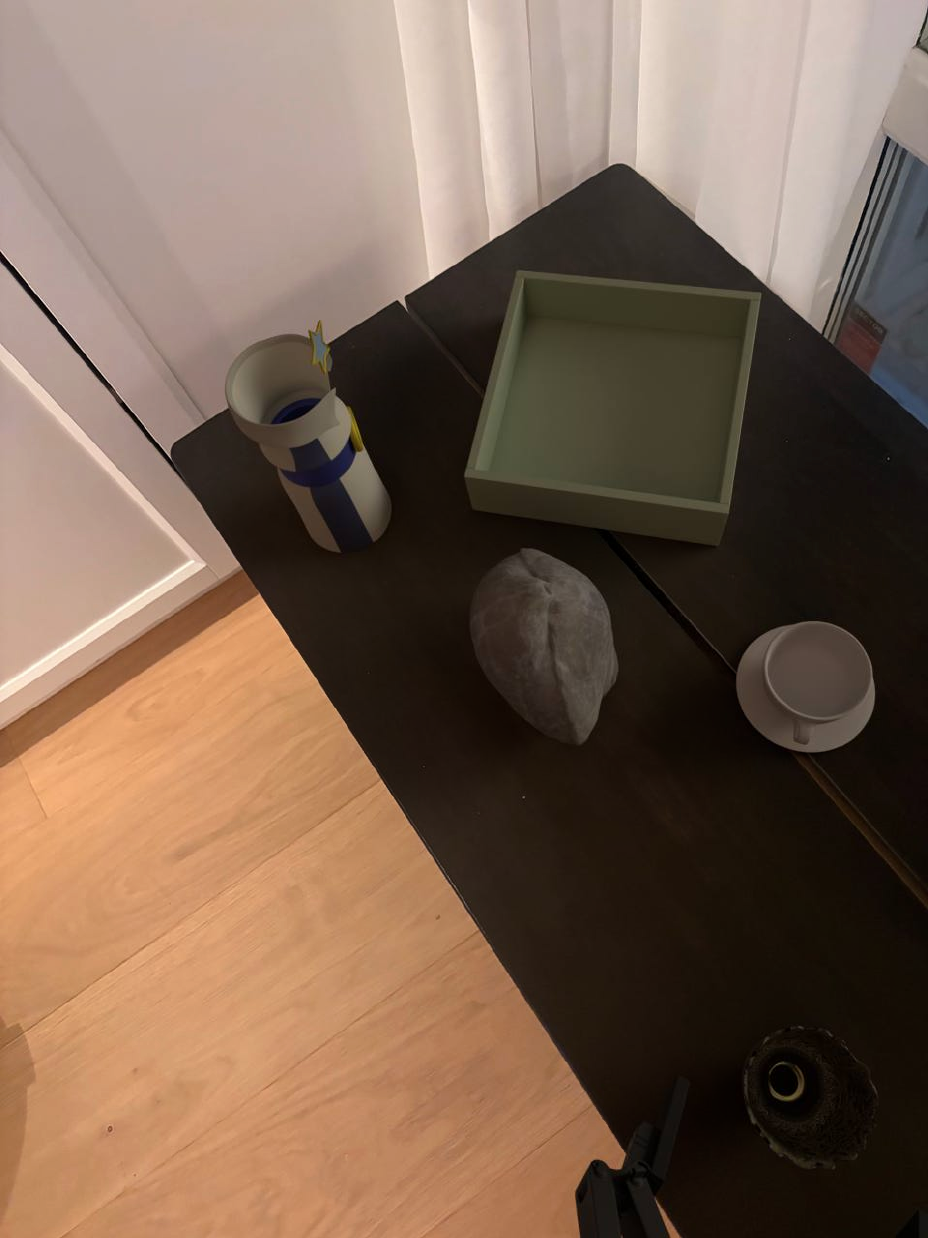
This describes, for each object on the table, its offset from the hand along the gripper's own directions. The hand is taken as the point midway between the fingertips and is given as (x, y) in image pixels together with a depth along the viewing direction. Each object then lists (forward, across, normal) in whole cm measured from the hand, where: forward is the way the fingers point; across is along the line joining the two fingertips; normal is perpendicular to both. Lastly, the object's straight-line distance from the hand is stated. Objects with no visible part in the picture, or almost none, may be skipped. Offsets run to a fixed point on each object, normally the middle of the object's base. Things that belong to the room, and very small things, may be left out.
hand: (790, 1156), depth 51 cm
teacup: (+27, -8, +14) cm, 32 cm away
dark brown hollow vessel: (+9, 0, -4) cm, 10 cm away
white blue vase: (+26, -48, +13) cm, 56 cm away
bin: (+38, -31, +25) cm, 55 cm away
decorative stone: (+22, -26, +9) cm, 35 cm away
